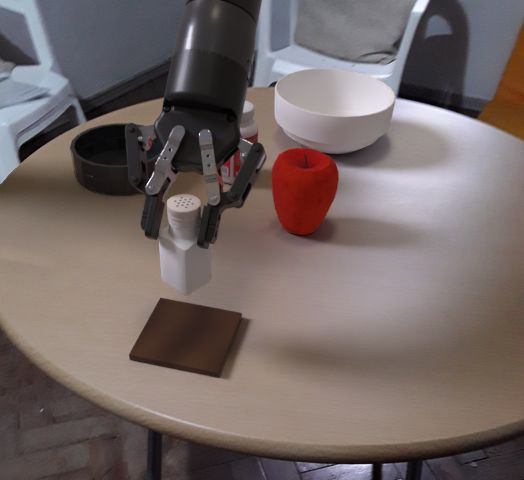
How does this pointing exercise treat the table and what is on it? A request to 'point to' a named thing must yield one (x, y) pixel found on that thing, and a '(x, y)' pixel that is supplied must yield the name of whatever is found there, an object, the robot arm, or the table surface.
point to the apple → (303, 188)
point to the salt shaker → (184, 247)
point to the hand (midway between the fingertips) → (176, 241)
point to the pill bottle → (248, 133)
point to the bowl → (333, 109)
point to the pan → (107, 159)
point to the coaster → (187, 337)
